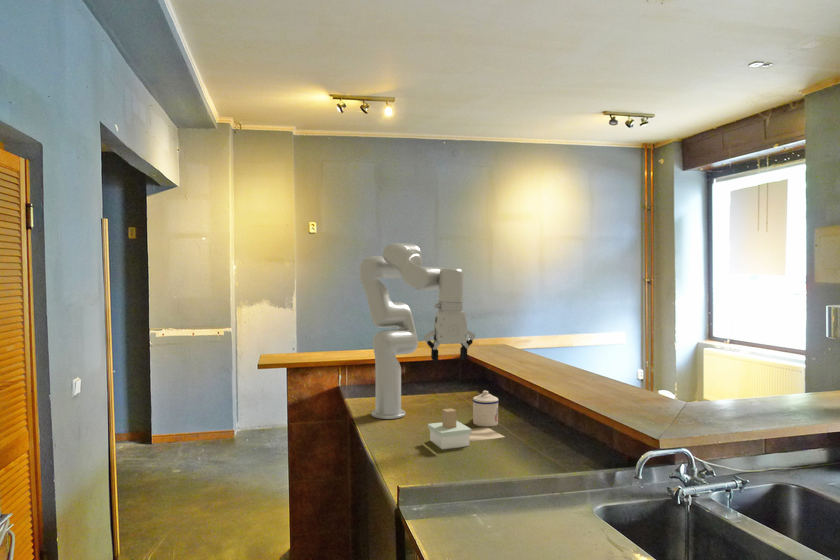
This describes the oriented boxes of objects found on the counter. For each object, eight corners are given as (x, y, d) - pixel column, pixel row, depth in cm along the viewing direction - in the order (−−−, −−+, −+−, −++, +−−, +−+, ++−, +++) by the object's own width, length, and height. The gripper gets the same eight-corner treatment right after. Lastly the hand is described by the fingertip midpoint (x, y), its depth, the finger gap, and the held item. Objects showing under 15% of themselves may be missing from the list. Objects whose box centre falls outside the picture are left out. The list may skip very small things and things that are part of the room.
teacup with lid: (501, 428, 175) (501, 393, 175) (475, 428, 174) (475, 394, 174) (493, 418, 187) (493, 386, 187) (468, 419, 186) (468, 386, 186)
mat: (454, 432, 170) (454, 430, 170) (486, 428, 174) (486, 426, 174) (471, 443, 159) (471, 441, 159) (505, 438, 163) (505, 437, 163)
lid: (427, 427, 160) (427, 407, 160) (456, 424, 163) (457, 404, 163) (441, 436, 150) (441, 415, 150) (471, 433, 154) (471, 412, 154)
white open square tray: (430, 442, 159) (430, 428, 159) (456, 439, 163) (456, 424, 163) (442, 451, 151) (442, 436, 151) (469, 447, 154) (469, 432, 154)
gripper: (429, 308, 156) (428, 364, 157) (480, 308, 162) (479, 362, 163) (420, 306, 163) (419, 360, 164) (470, 306, 169) (468, 357, 170)
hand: (449, 361), depth 163 cm, fingers open, 9 cm apart
